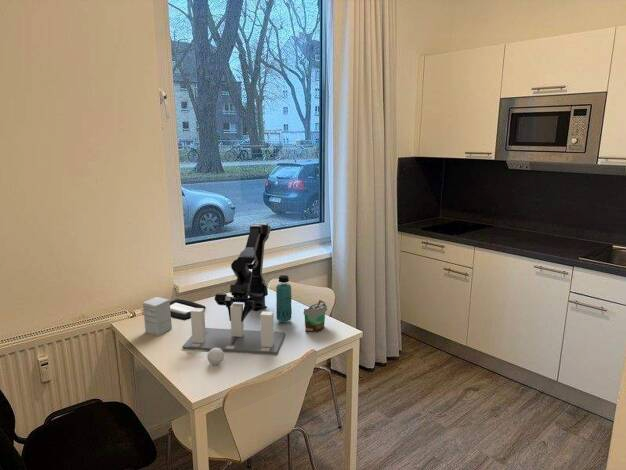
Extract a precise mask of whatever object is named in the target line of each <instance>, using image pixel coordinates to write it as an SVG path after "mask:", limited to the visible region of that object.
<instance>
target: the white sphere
mask: <svg viewBox="0 0 626 470" xmlns="http://www.w3.org/2000/svg"><path fill="white" fill-rule="evenodd" d="M206 357H207V360H208V361H207V362H208V363H210V364H211V365H214V366H215V365H220V364H221V363H222V362H223V361H224V358H225V353H224V352H223V351H222V350H221V349H220V348H212V349H211V350H210V351H208V352H207V355H206ZM203 358H204V356H203V357H201V359H203Z"/></svg>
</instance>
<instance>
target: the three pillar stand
mask: <svg viewBox="0 0 626 470" xmlns="http://www.w3.org/2000/svg"><path fill="white" fill-rule="evenodd" d="M205 317H206V316H205V310H204V308H193V309H192V310H191V318H190V322H191V336H190V337H189V338H188V339H187V341H186V342H185V343H184V344H183V345H182V350H190V351H191V350H193V351H205V352H206V351H208V352H209V351H210V350H211V349H212V348H220V349H221V350H222V351H223V352H225V353H238V354H241V353H242V354H253V355H254V354H256V355H259V354H260V355H269V356H270V355H271V356H273V355H274V356H277V355H278V353H279V352H280V351H279V350H280V349H281V346H282V344H283V341H284V339H285V337H286V331H285V332H284V331H275V329H274V311H261V313H260V315H259V317H260V318H259V320H260V330H250V329H249V330H248V329H244V334H243V336H242V337H237V336H232V335H231V328H229V329H228V328H217V327H213V328H212V327H206V318H205Z"/></svg>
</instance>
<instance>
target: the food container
mask: <svg viewBox="0 0 626 470" xmlns="http://www.w3.org/2000/svg"><path fill="white" fill-rule="evenodd" d="M327 306H328V305H327V304H326V302H325V301H324V300H321V299H319V300H318V302H317V303H315V304H313V305H312V304H311V306H309V308H304V309H303V316H304V326H305V332H306V333H314V334H315V333H320V332H322V331H323V330H324V329H325V323H326V322H325V320H326V312H327V311H328V307H327Z"/></svg>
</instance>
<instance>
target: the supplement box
mask: <svg viewBox="0 0 626 470" xmlns="http://www.w3.org/2000/svg"><path fill="white" fill-rule="evenodd" d="M170 302H171V300H170V299H168V298H164V297H159V296H155V297H153V298H150V299H148V300H146V301H144V302H142V309H143V310H142V311H143V321H144V329H145V330H144V331H145V333H148V334H151V335H154V336H161V335H162V334H164V333H166V332H168V331H170V330H172V329H173V325H172V324H173V323H172V317H171V311H170Z"/></svg>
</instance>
